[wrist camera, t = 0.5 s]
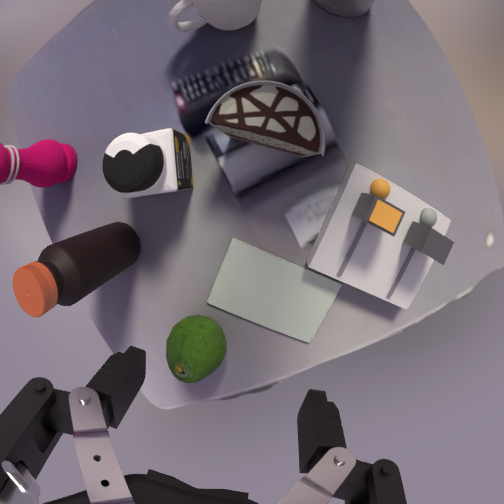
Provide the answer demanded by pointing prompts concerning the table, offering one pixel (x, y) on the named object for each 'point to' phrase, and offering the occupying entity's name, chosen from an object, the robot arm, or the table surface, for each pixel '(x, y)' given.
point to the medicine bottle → (148, 163)
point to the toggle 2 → (428, 242)
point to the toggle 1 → (378, 213)
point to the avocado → (195, 348)
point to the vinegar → (75, 267)
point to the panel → (374, 240)
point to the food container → (270, 118)
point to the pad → (272, 291)
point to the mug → (216, 14)
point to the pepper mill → (38, 163)
